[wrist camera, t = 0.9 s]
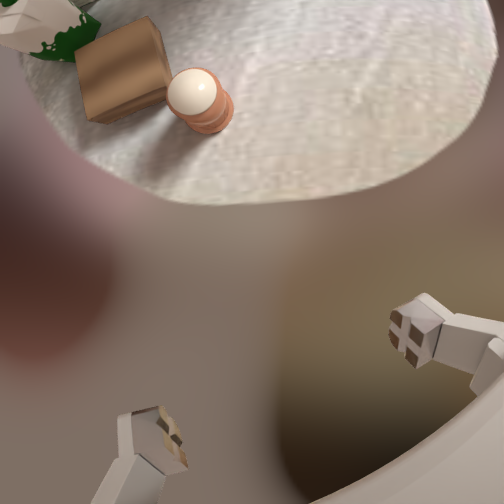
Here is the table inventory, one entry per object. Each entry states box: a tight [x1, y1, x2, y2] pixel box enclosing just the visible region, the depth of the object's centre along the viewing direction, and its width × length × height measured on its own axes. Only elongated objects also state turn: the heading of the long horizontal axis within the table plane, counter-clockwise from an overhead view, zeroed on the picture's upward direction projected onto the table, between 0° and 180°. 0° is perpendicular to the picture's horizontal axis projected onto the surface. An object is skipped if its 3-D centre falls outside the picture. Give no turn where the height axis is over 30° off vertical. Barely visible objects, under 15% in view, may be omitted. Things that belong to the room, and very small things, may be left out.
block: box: [74, 16, 173, 124], centre depth 34 cm, size 11×11×6 cm
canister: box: [166, 68, 234, 134], centre depth 32 cm, size 7×7×12 cm
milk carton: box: [0, 0, 101, 62], centre depth 25 cm, size 9×9×20 cm
